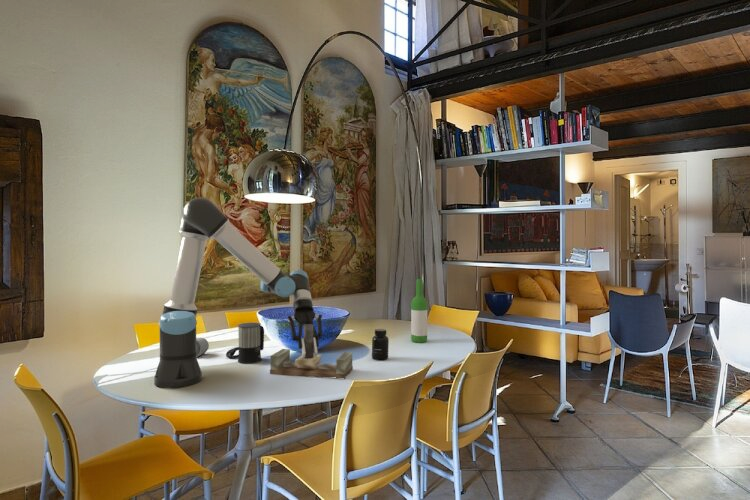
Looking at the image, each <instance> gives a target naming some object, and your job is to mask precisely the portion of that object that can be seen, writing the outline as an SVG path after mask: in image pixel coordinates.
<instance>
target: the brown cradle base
mask: <svg viewBox="0 0 750 500" xmlns="http://www.w3.org/2000/svg"><path fill="white" fill-rule="evenodd" d="M353 370H354V367H353V352H343V353H342V354H341V355H340V356H339V357H338V358H336V363H335V364H333V363H322V362H321V363H317V364H316V369H308V368H297V365H295V361H291V349H289V348H288V349H287V348H282V349H280V350H278V351H277V352H275V353H273V354H271V355H270V369H269V374H270V375H279V374H281V376H294V375H298V376H297V377H308V376H319V377H318V378H323V377H336V378H335V379H338V378H344V379H346V377H347V376H348V375H349V374H350V373H351V372H352V371H353ZM282 374H283V375H282Z"/></svg>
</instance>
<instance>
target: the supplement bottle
mask: <svg viewBox="0 0 750 500" xmlns="http://www.w3.org/2000/svg"><path fill="white" fill-rule="evenodd" d="M371 339H372V340H371V359H372V360H374V361H387V360H388V359H389V343H390V342H389V337H388V336H387V329H384V328H376V329H374V336H372V338H371Z"/></svg>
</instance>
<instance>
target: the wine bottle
mask: <svg viewBox="0 0 750 500" xmlns="http://www.w3.org/2000/svg"><path fill="white" fill-rule="evenodd" d="M415 282H416V283H415V285H416V290H415V291H416V292H415V293H416V294H415V296H414V297H413V298H412V300H411V305H410V306H411V307H410V308H411V309H410V311H411V313H410V317H411V318H410V339H411V342H413V343H415V344H417V343H418V344H419V343H420V344H421V343H426V342H427V341H428V301H427V299H426V298H425V296H424V294H423V286H424V285H423V279H421V278H418V279H416V280H415Z"/></svg>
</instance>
